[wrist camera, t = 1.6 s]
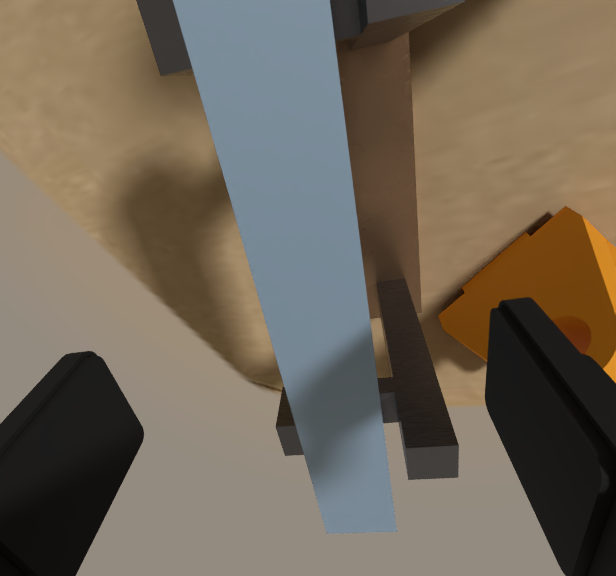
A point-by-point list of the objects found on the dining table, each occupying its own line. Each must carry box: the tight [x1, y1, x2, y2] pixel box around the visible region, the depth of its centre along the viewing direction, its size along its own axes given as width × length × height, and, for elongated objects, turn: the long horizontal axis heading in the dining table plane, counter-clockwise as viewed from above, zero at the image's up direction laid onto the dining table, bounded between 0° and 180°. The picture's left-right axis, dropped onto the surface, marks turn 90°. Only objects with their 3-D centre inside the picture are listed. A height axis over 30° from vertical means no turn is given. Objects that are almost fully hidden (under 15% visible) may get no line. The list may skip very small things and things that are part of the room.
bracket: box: [438, 206, 616, 383], centre depth 23 cm, size 11×7×12 cm, turn 143°
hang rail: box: [173, 0, 397, 533], centre depth 13 cm, size 3×22×4 cm, turn 11°
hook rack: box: [136, 0, 465, 480], centre depth 18 cm, size 8×20×15 cm, turn 10°
